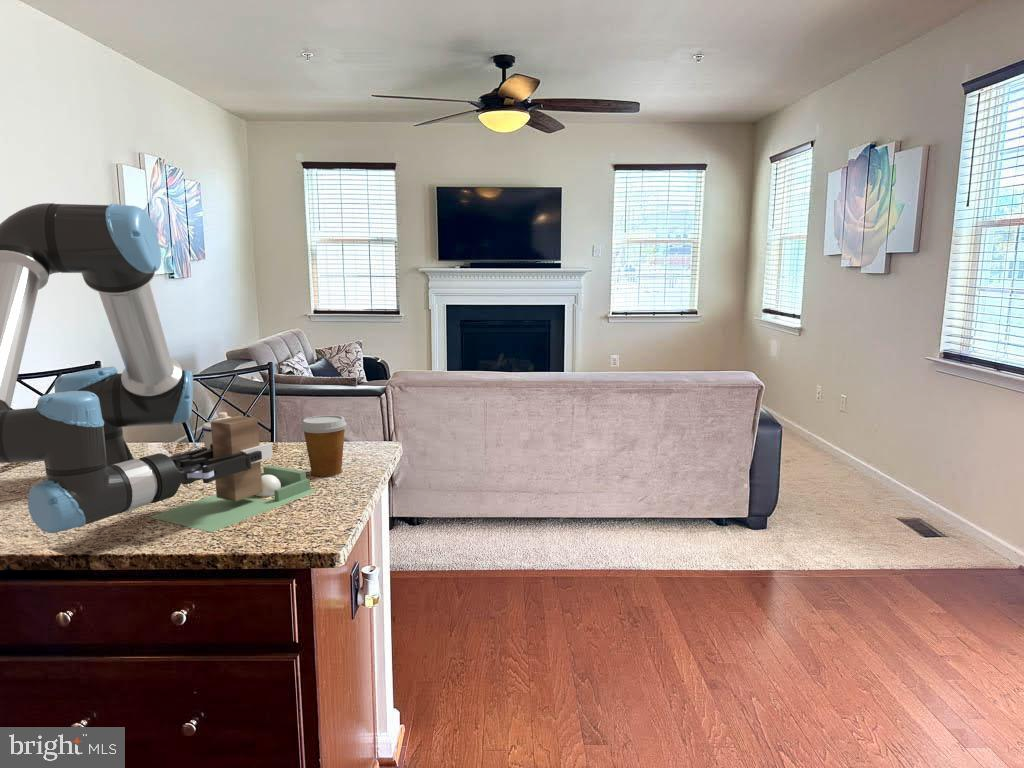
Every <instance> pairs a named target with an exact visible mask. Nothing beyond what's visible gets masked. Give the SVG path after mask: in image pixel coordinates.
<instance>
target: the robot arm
mask: <svg viewBox="0 0 1024 768" xmlns="http://www.w3.org/2000/svg"><path fill="white" fill-rule="evenodd" d="M159 240H160V239H159V235H158V232H157V229H156V227H155V224H154V222H153V220H152V218H151V216H150V215H149V214H148V213H147V211H146V210H145V209H142V208H140V207H139V206H136V205H125V204H120V203H110V204H80V203H78V204H75V203H74V204H72V203H70V204H69V203H54V202H53V203H50V202H47V203H46V202H45V203H38V204H32V205H30V206H29V205H28V206H26V207H25V208H22V209H20V210H17V211H16V212H14V213H13V214H12V215H9V216H8V217H7V218H6V219H5V220H3V221H2V222H1V223H0V464H7V463H8V464H14V463H15V464H16V463H17V464H18V463H29V462H42V461H43V463H44V467H45V468H44V469H45V476H46V479H45V480H42V481H41V482H39V483H36V484H33V485H32V487H31V488H30V489H29V492H28V499H27V508H28V512H29V515H30V517H31V520H32V521H33V523H34V524H35V526H37V528H38V529H40V530H41V531H42V532H46V533H47V534H57V533H60V532H65V531H67V530H71V529H75V528H81V527H82V528H83V527H85V526H87V525H90V524H92V523H95V522H97V521H101V520H102V521H103V520H105V519H107V518H110V517H113V516H117V515H118V514H119V515H120V514H123V513H125V514H131V513H133V510H135V509H138V508H141V507H144V506H147V505H149V504H155V503H157V502H160V501H161V502H162V501H165V500H168V499H170V498H172V497H174V496H175V495H176V494H177V492H178V491H179V489H180V487H181V485H189V484H193V483H195V482H197V481H201V480H202V483H203V484H210V483H211V482H214V481H215V480H216V479H219V478H222V477H225V476H229V475H232V474H235V473H238V472H242V471H247V470H249V469H251V464H253V463H256V462H259V461H260V462H263V461H264V460H265V461H267V460H269V459H271V458H273V457H274V455H273V454H274V453H273V443H272V442H268V443H264V444H259V446H256V447H252V448H249V449H245V450H242V451H241V453H237V454H232V455H227V456H222V457H217V458H214V457H213V445H212V444H210V448H211V449H208V450H207V448H205V446H204V447H201V448H198V449H193V450H190V451H186V452H183V453H179V454H174V455H172V456H169V455H167V454H164V453H161V452H160V453H154V454H150V455H147V456H143V457H142V456H141V457H139V458H134V457H133V453H132V452H131V450H130V449H129V446H128V444H127V442H126V440H125V438H124V431H123V428H124V427H140V426H141V427H142V426H143V427H144V426H145V427H146V426H160V425H162V426H165V425H174V424H181V423H186V422H187V421H189V420H190V419H191V417H192V411H193V404H194V403H193V401H194V374H193V372H192V371H191V370H187V369H182V366H181V364H180V363H179V362H178V361H177V360H176V359H174V358H173V357H171V356H170V353H169V348H168V345H167V341H166V338H165V335H164V334H165V333H164V331H163V327H162V323H161V320H160V315H159V313H158V309H157V306H156V301H155V297H154V294H153V291H152V288H151V287H152V286H151V281H152V280H153V279H154V278H155V274H156V272H157V271H158V270H159V269H160V268H161V265H162V250H161V246H160V243H159V242H160V241H159ZM58 273H61V274H81V276H82V279H83V281H84V283H85V285H86V286H87V287H89V288H90V289H92V290H93V291H95V292H98V294H99V296H100V300H101V302H102V306H103V308H104V311H105V315H106V316H107V320H108V322H109V325H110V329H111V331H112V334H113V336H114V340H115V342H116V345H117V348H118V351H119V354H120V357H121V359H122V361H123V365H124V367H125V368H124V369H123V371H122V372H121V373H118V372H119V370H118V369H117V367H115V366H106V367H105V366H104V367H98V368H97V367H96V368H93V369H92V368H91V369H85V370H80V371H76V372H72V373H67V374H66V373H65V374H63V375H60V376H59V377H57V378H56V379H55V382H54V384H53V385H54V393H53V392H52V393H48V394H47V393H46V394H44V395H41V396H40V397H39V398H38V399H37V404H36V405H37V406H36V407H30V408H28V407H27V408H19V409H18V408H16V409H11V406H12V401H13V397H14V394H15V389H16V385H17V381H18V377H19V373H20V372H19V371H20V368H21V364H22V363H21V362H22V359H23V356H24V351H25V346H26V343H27V338H28V334H29V330H30V325H31V322H32V318H33V314H34V310H35V304H36V301H37V296H38V293H39V290H42V289H43V288H44V287H46V286H47V283H48V281H49V277H50V275H52V274H58Z"/></svg>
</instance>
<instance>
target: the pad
mask: <svg viewBox="0 0 1024 768" xmlns="http://www.w3.org/2000/svg"><path fill="white" fill-rule="evenodd" d="M262 468H263V472H261V476H263V475H273V476H275V477H277V478H278V479H279V481H280V483H281V488H279V489H276V490H274V494H275V495H274V497H273V498H269V499H262V498H257V497H252V496H250V497H247V498H244V499H242V500H239V501H231V500H226V499H221V498H217V495H216V494H214V495H210V496H207V497H204V498H202V499H198V500H196V501H193V502H190V503H187V504H184V505H182V506H181V505H180V506H178V507H175V508H172V509H169V510H165V511H163V512H160V513H158V514H157V513H156V514H154V515H151V516H149V518H152V519H156V520H159V521H164V522H167V523H172V524H175V525H180V526H184V527H188V528H193V529H197V530H201V531H205V532H209V533H215V532H217V531H219V530H221V529H225V528H227V527H229V526H232V525H235V524H237V523H240V522H242V521H245V520H247V519H250V518H253V517H255V516H257V515H260V514H264V513H266V512H269V511H270V510H273V509H276V508H277V507H280V506H281V507H282V506H283V505H286V504H289V503H291V502H293V501H296V500H298V499H299V500H300V499H302V498H304V497H306V496H309V495H312V494H314V493H317V492H318V490H317V489H316V490H315V489H311V479H309V478H307V473H306V471H305V470H300V469H295V468H287V467H281V466H275V465H265V466H263V467H262Z"/></svg>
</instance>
